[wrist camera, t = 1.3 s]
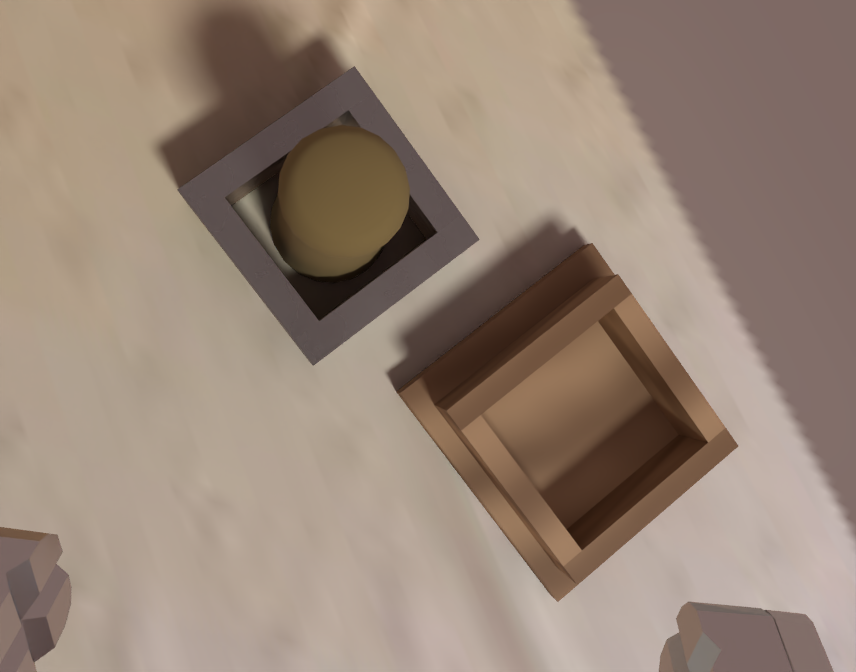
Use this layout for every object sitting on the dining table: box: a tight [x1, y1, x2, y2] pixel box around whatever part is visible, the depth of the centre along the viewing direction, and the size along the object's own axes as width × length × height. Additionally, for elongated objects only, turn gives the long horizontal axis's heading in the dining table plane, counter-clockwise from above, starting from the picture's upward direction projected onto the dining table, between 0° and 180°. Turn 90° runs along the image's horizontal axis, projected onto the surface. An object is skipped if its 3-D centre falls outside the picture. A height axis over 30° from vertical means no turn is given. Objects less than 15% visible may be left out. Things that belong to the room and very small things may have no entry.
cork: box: [270, 125, 410, 283], centre depth 35 cm, size 6×6×11 cm
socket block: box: [178, 66, 479, 365], centre depth 38 cm, size 10×10×3 cm
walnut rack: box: [397, 243, 738, 602], centre depth 40 cm, size 14×13×4 cm
